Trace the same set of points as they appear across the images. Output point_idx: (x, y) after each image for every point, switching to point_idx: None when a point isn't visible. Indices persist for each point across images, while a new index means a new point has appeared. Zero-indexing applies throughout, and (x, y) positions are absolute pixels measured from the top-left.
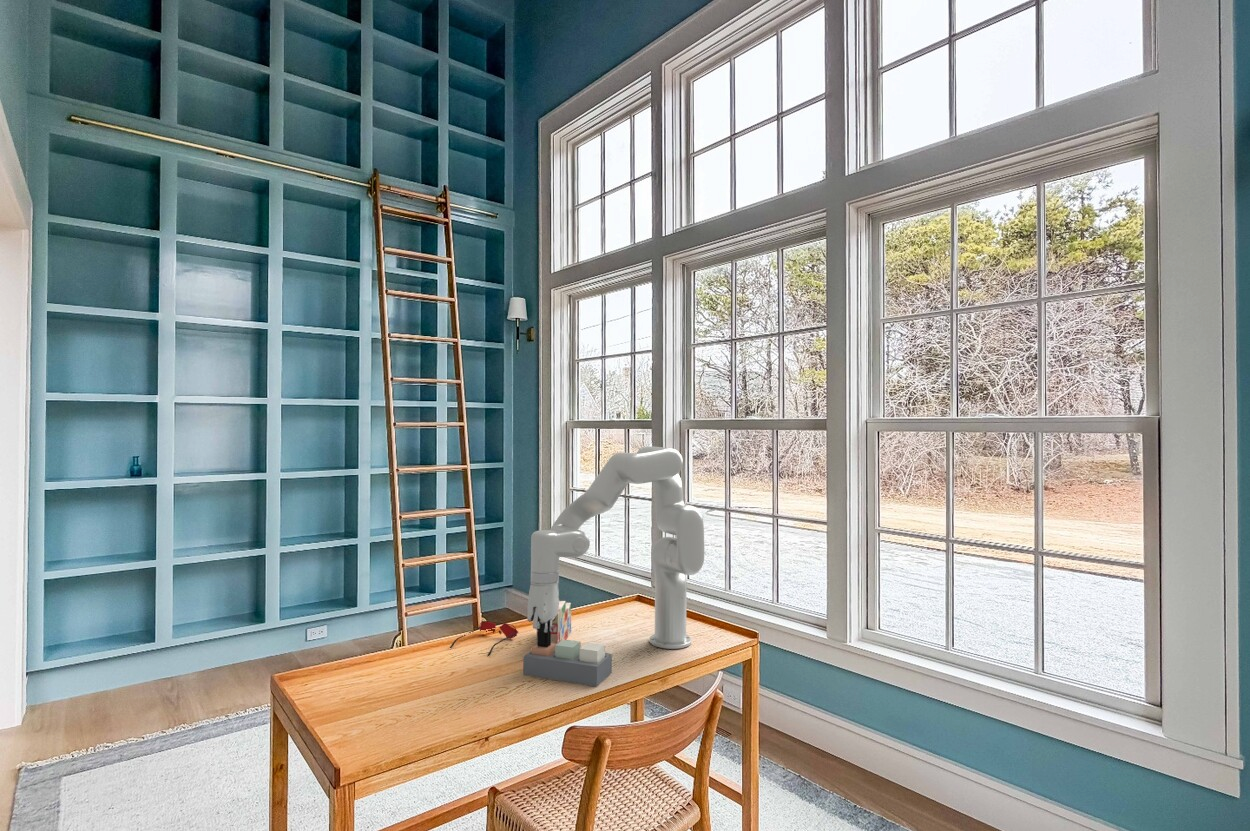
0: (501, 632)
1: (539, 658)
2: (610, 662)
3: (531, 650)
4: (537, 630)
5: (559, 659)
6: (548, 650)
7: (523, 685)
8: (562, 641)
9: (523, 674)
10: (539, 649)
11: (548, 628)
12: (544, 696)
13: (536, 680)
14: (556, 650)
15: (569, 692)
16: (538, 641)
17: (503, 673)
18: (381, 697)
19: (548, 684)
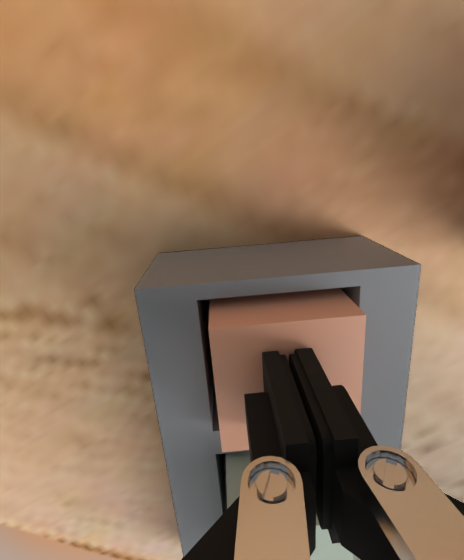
0: None
1: (155, 400)
2: None
3: (259, 278)
4: (241, 490)
5: (196, 498)
6: (222, 449)
7: (50, 327)
8: (324, 534)
9: (158, 254)
10: (215, 388)
11: (355, 552)
12: (17, 454)
13: (134, 346)
14: (228, 503)
15: (106, 504)
16: (268, 379)
17: (116, 135)
18: None
19: (126, 410)
